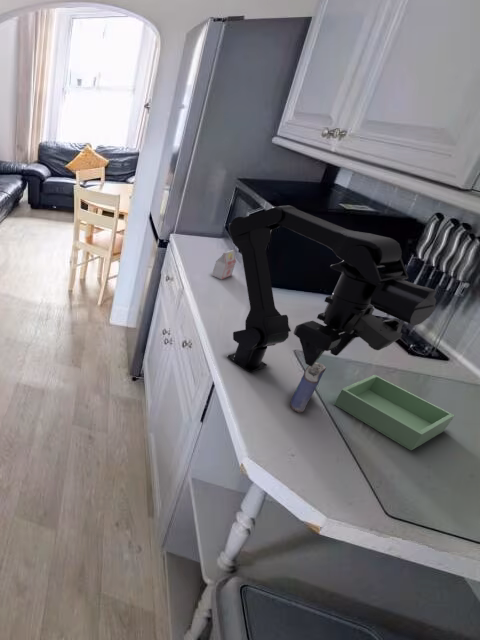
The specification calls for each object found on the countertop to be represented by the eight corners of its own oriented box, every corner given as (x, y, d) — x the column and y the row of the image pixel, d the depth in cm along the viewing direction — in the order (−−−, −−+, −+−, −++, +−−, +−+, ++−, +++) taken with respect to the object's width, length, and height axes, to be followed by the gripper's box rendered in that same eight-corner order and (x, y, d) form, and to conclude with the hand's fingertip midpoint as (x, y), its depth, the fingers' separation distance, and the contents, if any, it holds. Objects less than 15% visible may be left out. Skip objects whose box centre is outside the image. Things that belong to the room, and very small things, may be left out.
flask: (301, 415, 86) (320, 376, 82) (285, 407, 88) (303, 369, 84) (312, 396, 91) (330, 359, 87) (297, 389, 94) (314, 352, 89)
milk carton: (211, 275, 149) (218, 251, 144) (221, 271, 152) (229, 247, 148) (221, 279, 146) (229, 254, 142) (231, 275, 149) (239, 251, 145)
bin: (410, 450, 78) (421, 434, 76) (333, 404, 89) (341, 389, 87) (443, 431, 83) (455, 415, 81) (366, 389, 94) (375, 374, 92)
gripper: (377, 329, 68) (341, 397, 75) (429, 307, 75) (392, 371, 82) (306, 298, 78) (279, 361, 84) (358, 282, 85) (329, 341, 91)
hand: (321, 359), depth 85 cm, fingers open, 9 cm apart
